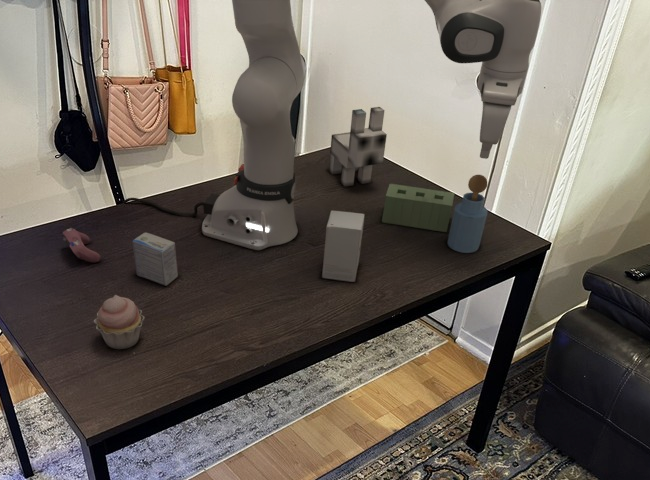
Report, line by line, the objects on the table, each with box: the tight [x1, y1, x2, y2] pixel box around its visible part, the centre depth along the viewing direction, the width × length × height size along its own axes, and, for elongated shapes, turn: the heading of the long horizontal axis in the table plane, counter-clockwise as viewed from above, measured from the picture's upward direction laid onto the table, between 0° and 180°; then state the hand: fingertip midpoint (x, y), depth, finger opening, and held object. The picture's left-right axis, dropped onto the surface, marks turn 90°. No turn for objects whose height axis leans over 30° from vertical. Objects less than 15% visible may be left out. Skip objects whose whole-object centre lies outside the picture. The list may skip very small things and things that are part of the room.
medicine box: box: [132, 231, 179, 287], centre depth 147 cm, size 8×4×9 cm, turn 59°
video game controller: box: [62, 227, 101, 263], centre depth 154 cm, size 10×5×7 cm, turn 27°
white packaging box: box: [321, 209, 366, 283], centre depth 149 cm, size 7×7×13 cm
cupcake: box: [93, 294, 145, 350], centre depth 130 cm, size 9×9×10 cm
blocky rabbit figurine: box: [328, 106, 388, 187], centre depth 181 cm, size 8×18×20 cm, turn 22°
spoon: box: [467, 174, 488, 202], centre depth 158 cm, size 4×1×17 cm, turn 75°
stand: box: [381, 183, 455, 233], centre depth 169 cm, size 16×7×7 cm, turn 75°
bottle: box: [447, 192, 489, 254], centre depth 159 cm, size 7×7×12 cm
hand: (484, 148), depth 148 cm, fingers open, 8 cm apart
